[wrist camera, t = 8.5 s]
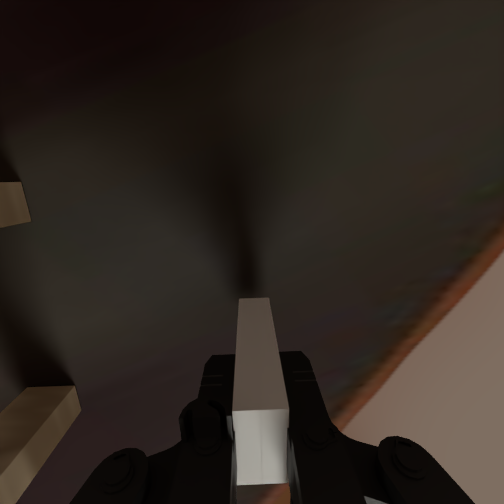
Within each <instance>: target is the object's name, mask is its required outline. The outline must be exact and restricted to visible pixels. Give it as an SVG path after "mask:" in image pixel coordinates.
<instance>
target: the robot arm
mask: <svg viewBox="0 0 504 504" xmlns="http://www.w3.org/2000/svg"><path fill="white" fill-rule="evenodd" d="M179 424H180V432H181V439H182V440H181V441H180V442H179V443H177V444H176V445H175V446H173V447H171V448H169V449H167V450H165V451H162V452H159V453H157V454H154V455H151V456H149V457H146V455H145V453H144V452H143V451H141V450H139V449H137V448H125V449H122V450H120V451H117V452H114V453H113V454H112V455H110V456H109V457H107V458H106V459H104V460H103V461H102V462H101V463H100V464H99V465H98V467H97V468H96V469H95V470H94V471H93V472H92V474H91V475H90V476H89V478H88V479H87V481H86V482H85V483H84V485H83V486H82V487H81V489H80V490H79V491H78V493H77V494H76V495H75V497H74V498H73V500H72V501H71V502H70V504H237V499H236V494H237V485H250V484H274V483H288V479H289V486H290V493H291V499H290V504H475V503H474V502H473V501H472V500H471V499H470V498H469V496H468V495H467V494H466V493H465V492H464V491H463V490H462V489H461V488H460V486H459V485H458V484H457V483H456V482H455V481H454V480H453V479H452V478H451V477H450V476H449V474H448V473H447V472H446V471H445V470H444V469H443V468H442V467H441V465H440V464H439V463H438V462H437V461H436V460H435V459H434V458H433V457H432V456H431V455H430V454H429V453H428V452H427V451H426V450H425V449H424V448H422V447H421V446H420V445H419V444H417V443H415V442H413V441H411V440H410V439H407V438H403V437H399V436H391V437H386V438H385V439H383V440H382V441H381V442H380V444H379V446H378V447H377V446H373V445H370V444H366V443H362V442H359V441H356V440H353V439H351V438H349V437H347V436H346V435H344V434H342V433H341V432H340V431H339V430H338V428H337V427H336V426H335V425H334V424H333V423H332V422H331V420H330V418H329V416H328V413H327V410H326V407H325V404H324V401H323V398H322V395H321V393H320V390H319V387H318V384H317V381H316V378H315V375H314V372H313V369H312V366H311V363H310V360H309V359H308V358H307V357H306V356H305V355H304V354H303V353H302V352H301V351H289V352H279V351H278V345H277V340H276V335H275V329H274V324H273V318H272V313H271V307H270V302H269V298H244V299H239V309H238V325H237V341H236V354H230V355H212V356H211V358H210V359H209V360H208V361H207V363H206V364H205V367H204V372H203V377H202V381H201V387H200V390H199V394H198V399H196V400H194V401H192V402H190V403H189V404H188V405H187V406H186V407H185V408H184V409H183V410H182V412H181V414H180V416H179Z"/></svg>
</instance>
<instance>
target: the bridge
mask: <svg viewBox="0 0 504 504" xmlns="http://www.w3.org/2000/svg"><path fill="white" fill-rule="evenodd" d="M27 222H31V218H30V214H29V210H28V206H27V203H26V199H25V195H24V191H23V187H22V184H21V182H0V228H2V227H7V226H12V225H17V224H22V223H27ZM80 412H81V407H80V403H79V399H78V396H77V392H76V388H75V386H49V387H27V388H26V389H25V390H24V391H23V392H22V393H21V394H20V395H19V396H18V397H17V398H15V399H14V400H13V401H12V402H11V403H10V404H9V405H8V406H7V407H6V408H5V409H4V410H3V411H2V412H1V413H0V504H16V502H17V501H18V499H19V498H20V496H21V495H22V494H23V492H24V491H25V489H26V488H27V487H28V485H29V484H30V482H31V481H32V480H33V478H34V477H35V475H36V474H37V472H38V471H39V470H40V468H41V467H42V465H43V464H44V463H45V461H46V460H47V458H48V457H49V455H50V454H51V453H52V451H53V450H54V448H55V447H56V446H57V444H58V443H59V441H60V440H61V439H62V437H63V436H64V434H65V433H66V431H67V430H68V429H69V427H70V426H71V424H72V423H73V422H74V420H75V419H76V417H77V416H78V415H79V413H80Z"/></svg>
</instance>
